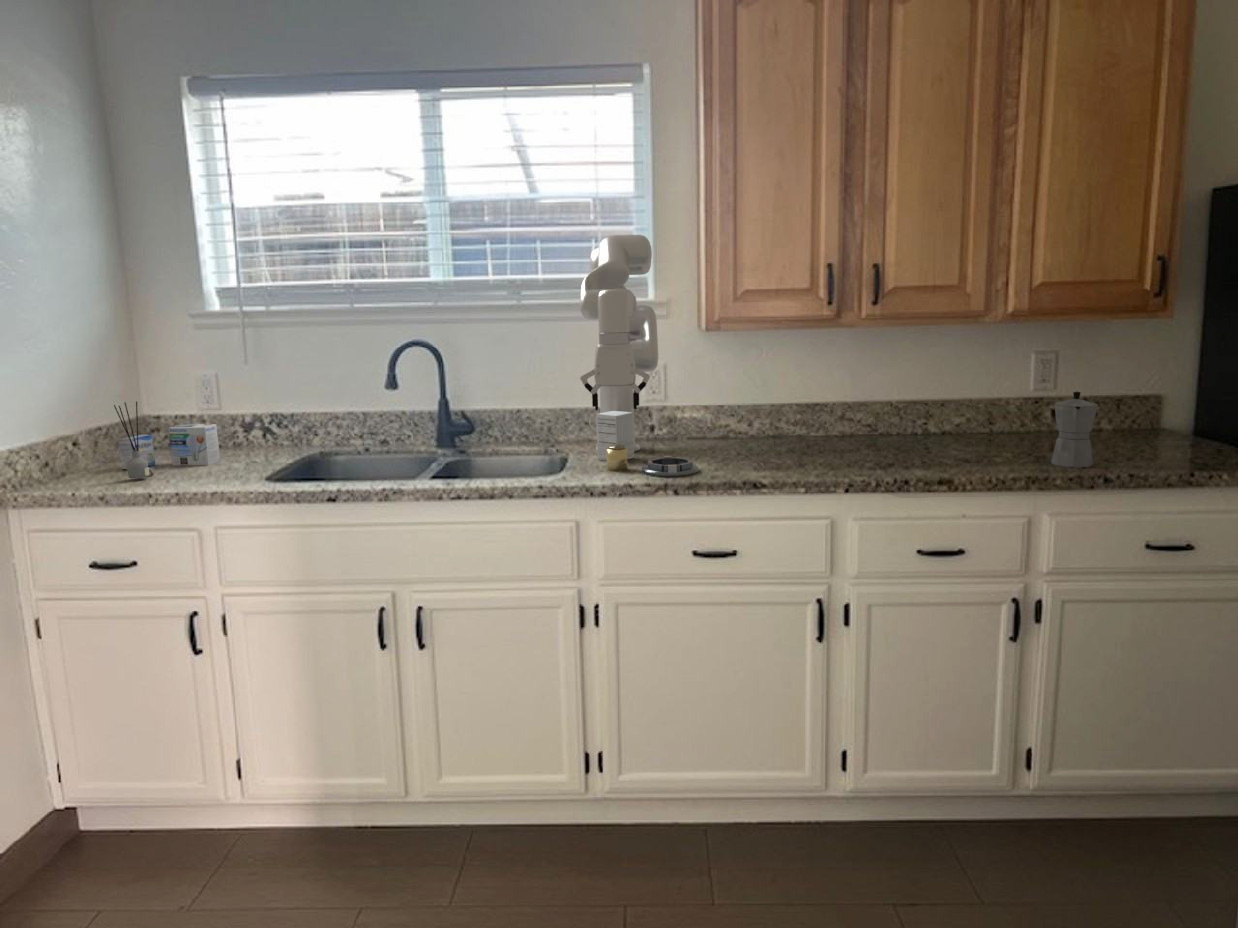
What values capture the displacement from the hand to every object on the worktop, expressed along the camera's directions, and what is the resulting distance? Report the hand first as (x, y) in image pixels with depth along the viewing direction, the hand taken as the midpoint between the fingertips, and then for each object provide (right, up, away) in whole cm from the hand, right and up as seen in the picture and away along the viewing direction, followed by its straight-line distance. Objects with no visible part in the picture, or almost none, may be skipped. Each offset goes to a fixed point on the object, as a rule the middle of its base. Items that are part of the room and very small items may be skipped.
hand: (615, 409), depth 221 cm
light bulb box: (-117, -14, +26) cm, 121 cm away
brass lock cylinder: (0, -15, +3) cm, 16 cm away
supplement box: (0, -13, +18) cm, 22 cm away
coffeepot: (+113, -14, -3) cm, 113 cm away
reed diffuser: (-123, -18, +5) cm, 124 cm away
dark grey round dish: (+13, -16, -1) cm, 21 cm away
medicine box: (-131, -15, +22) cm, 134 cm away
